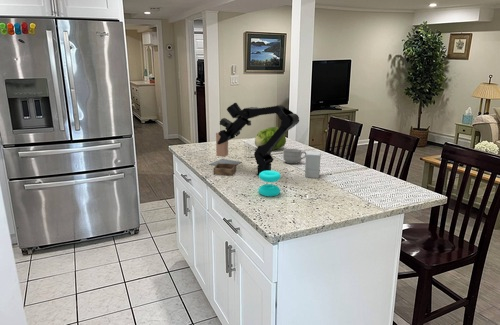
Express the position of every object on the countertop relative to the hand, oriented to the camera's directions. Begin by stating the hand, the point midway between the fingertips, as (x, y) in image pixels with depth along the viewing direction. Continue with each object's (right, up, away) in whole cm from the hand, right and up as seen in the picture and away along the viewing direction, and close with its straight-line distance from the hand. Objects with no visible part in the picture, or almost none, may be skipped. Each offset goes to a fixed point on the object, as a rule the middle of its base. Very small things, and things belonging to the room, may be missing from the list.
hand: (219, 142), depth 210 cm
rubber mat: (+3, -12, +11) cm, 16 cm away
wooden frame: (+3, -16, -6) cm, 18 cm away
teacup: (+43, -11, +15) cm, 47 cm away
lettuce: (+30, -2, +47) cm, 56 cm away
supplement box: (+50, -18, -10) cm, 54 cm away
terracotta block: (+1, -7, +1) cm, 7 cm away
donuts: (+26, -26, -37) cm, 52 cm away
